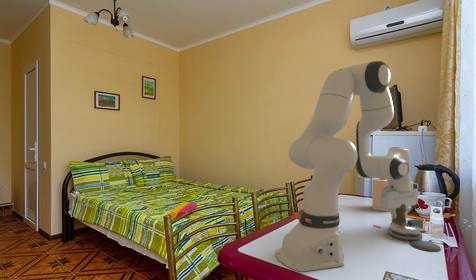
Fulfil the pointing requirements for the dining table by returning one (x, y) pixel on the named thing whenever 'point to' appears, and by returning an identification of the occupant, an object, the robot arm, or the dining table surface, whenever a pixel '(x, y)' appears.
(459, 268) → the dining table surface
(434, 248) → the coaster
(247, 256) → the dining table surface
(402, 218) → the cork
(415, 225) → the saucepan
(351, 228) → the dining table surface
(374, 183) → the soap dispenser
